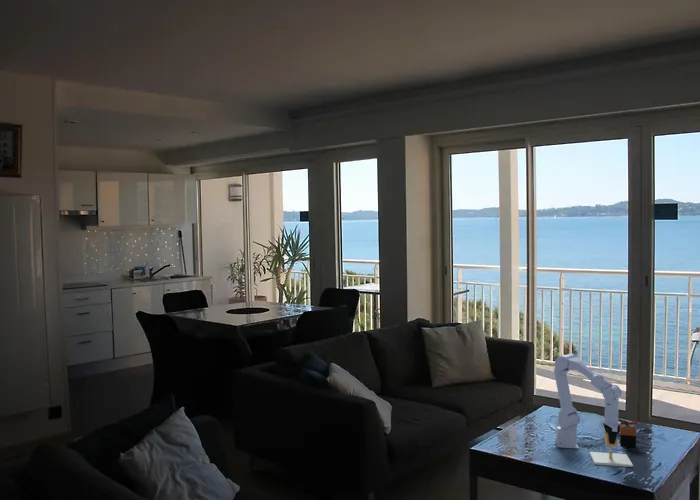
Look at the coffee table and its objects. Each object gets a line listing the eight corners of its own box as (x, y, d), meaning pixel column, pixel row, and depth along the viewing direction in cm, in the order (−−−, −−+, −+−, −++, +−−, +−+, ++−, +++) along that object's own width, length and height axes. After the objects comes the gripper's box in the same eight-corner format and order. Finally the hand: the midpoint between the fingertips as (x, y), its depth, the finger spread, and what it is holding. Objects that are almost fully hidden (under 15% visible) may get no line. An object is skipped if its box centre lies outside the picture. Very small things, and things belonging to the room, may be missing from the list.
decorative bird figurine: (602, 430, 318) (602, 411, 317) (638, 432, 316) (639, 413, 315) (603, 432, 315) (604, 413, 315) (640, 434, 313) (641, 415, 312)
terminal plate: (594, 464, 277) (594, 454, 277) (589, 453, 289) (589, 444, 289) (632, 467, 274) (633, 457, 274) (626, 456, 286) (626, 446, 286)
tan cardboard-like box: (606, 446, 280) (607, 435, 280) (604, 442, 284) (604, 431, 284) (617, 446, 279) (617, 436, 279) (614, 443, 283) (615, 432, 283)
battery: (636, 447, 296) (636, 427, 295) (620, 446, 298) (621, 426, 297) (634, 444, 300) (635, 424, 300) (619, 443, 302) (619, 422, 301)
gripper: (624, 418, 273) (624, 448, 274) (617, 407, 287) (616, 436, 288) (607, 417, 274) (607, 447, 275) (600, 406, 288) (600, 435, 289)
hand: (610, 441), depth 282 cm, fingers closed on tan cardboard-like box, 4 cm apart
